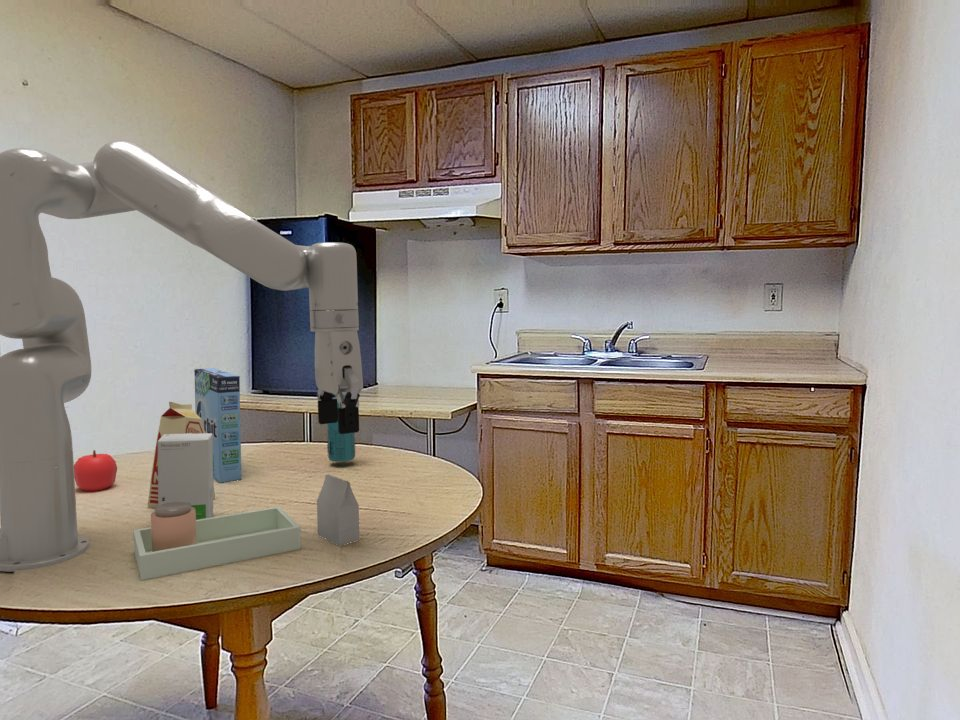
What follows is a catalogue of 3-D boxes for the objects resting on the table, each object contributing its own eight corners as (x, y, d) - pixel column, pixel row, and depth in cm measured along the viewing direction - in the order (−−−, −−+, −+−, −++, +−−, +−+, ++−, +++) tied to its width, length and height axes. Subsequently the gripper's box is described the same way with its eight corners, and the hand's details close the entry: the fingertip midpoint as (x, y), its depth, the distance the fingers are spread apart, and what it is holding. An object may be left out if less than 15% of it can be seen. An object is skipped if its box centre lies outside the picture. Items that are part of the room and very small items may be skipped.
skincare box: (158, 533, 109) (153, 441, 108) (165, 520, 116) (161, 433, 114) (211, 528, 112) (208, 438, 110) (216, 516, 118) (212, 431, 117)
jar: (155, 569, 93) (152, 516, 92) (150, 555, 98) (148, 504, 97) (200, 560, 96) (198, 508, 96) (194, 547, 101) (192, 498, 101)
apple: (64, 491, 133) (62, 453, 133) (98, 481, 141) (96, 445, 140) (94, 495, 131) (91, 456, 130) (127, 484, 138) (125, 447, 138)
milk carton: (189, 511, 121) (185, 404, 119) (145, 508, 123) (140, 402, 121) (218, 497, 130) (214, 396, 128) (177, 494, 132) (173, 395, 130)
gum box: (196, 465, 155) (192, 369, 153) (219, 462, 158) (215, 367, 156) (219, 483, 139) (215, 376, 137) (243, 479, 142) (240, 375, 140)
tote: (141, 584, 90) (139, 556, 89) (134, 555, 100) (133, 530, 99) (301, 552, 101) (300, 527, 101) (280, 529, 111) (279, 506, 111)
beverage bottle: (361, 463, 156) (360, 380, 154) (341, 469, 151) (340, 383, 149) (341, 460, 160) (339, 378, 158) (321, 465, 154) (319, 381, 152)
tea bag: (339, 546, 104) (338, 484, 103) (317, 535, 108) (316, 476, 108) (359, 540, 106) (358, 480, 105) (337, 530, 111) (336, 472, 110)
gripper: (377, 322, 99) (381, 434, 100) (338, 320, 113) (342, 417, 115) (329, 323, 95) (333, 440, 96) (295, 321, 109) (299, 422, 111)
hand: (338, 427), depth 106 cm, fingers open, 9 cm apart
